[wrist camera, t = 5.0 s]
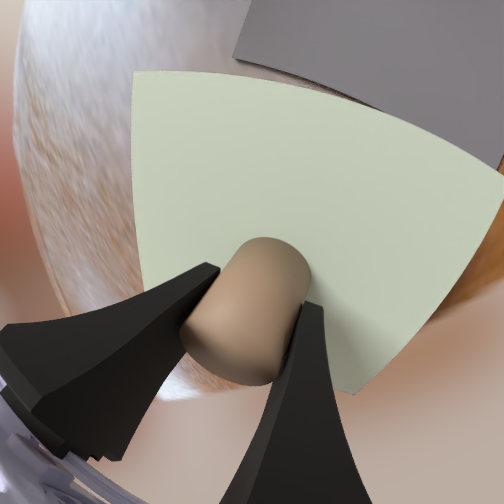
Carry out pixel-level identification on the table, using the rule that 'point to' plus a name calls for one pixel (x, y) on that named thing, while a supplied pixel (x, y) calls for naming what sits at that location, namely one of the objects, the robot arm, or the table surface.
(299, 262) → the cover
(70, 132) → the table surface
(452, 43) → the mat
